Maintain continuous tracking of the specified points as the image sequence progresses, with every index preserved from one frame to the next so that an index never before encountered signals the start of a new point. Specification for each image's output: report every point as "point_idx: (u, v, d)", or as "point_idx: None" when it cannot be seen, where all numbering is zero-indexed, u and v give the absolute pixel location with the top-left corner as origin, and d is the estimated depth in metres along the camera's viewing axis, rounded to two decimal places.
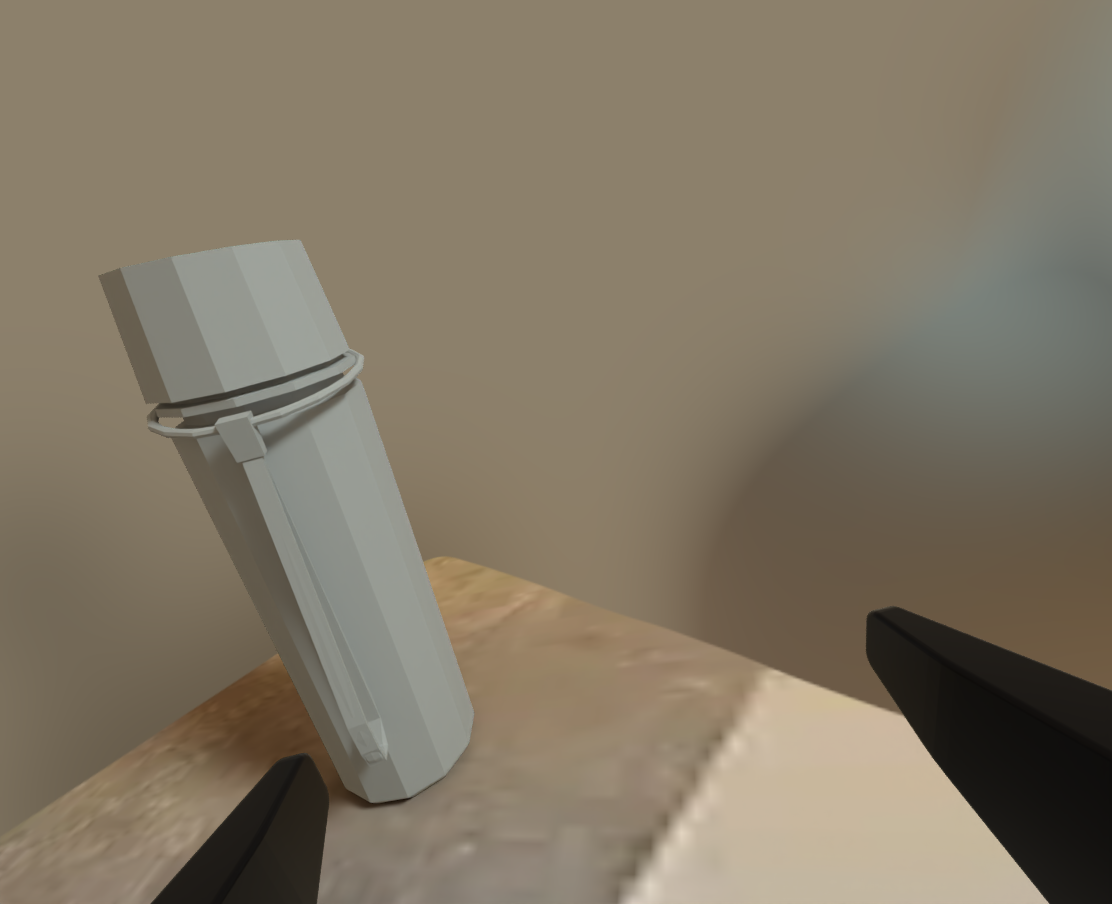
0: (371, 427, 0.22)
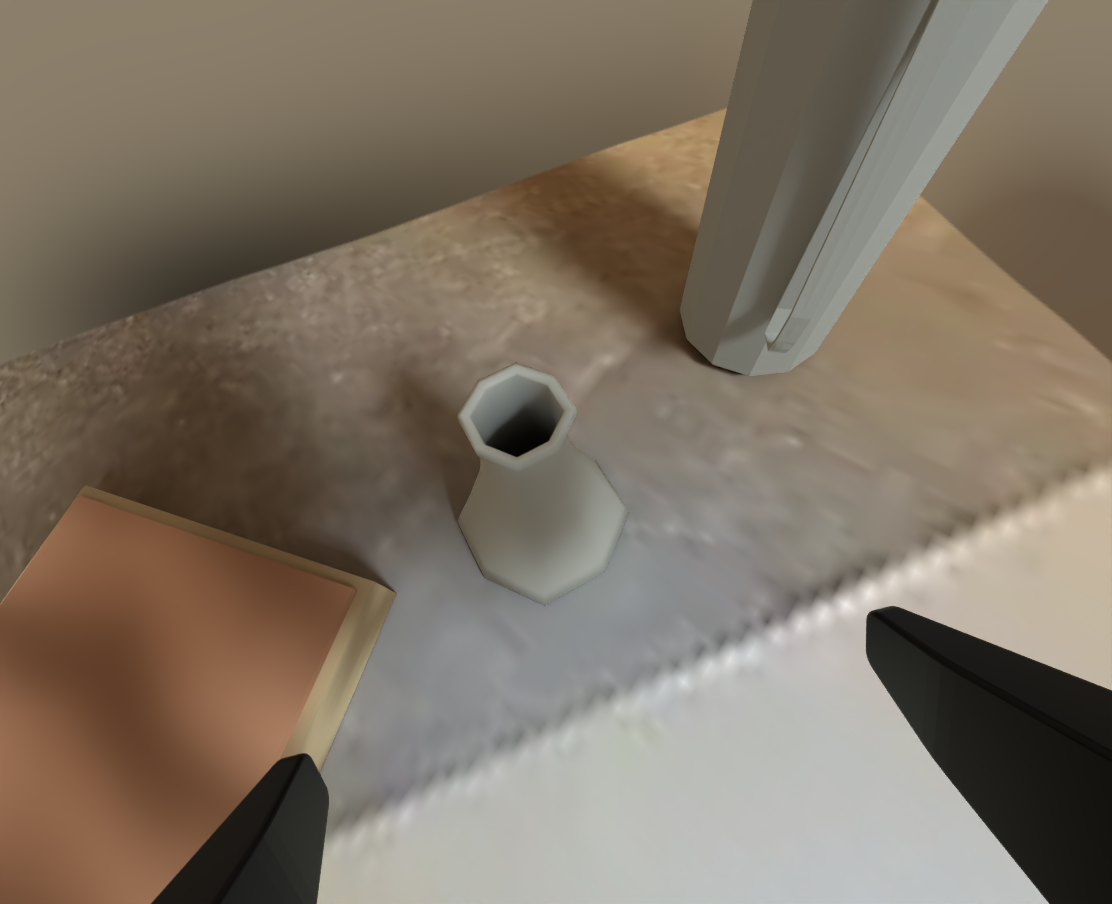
0: None
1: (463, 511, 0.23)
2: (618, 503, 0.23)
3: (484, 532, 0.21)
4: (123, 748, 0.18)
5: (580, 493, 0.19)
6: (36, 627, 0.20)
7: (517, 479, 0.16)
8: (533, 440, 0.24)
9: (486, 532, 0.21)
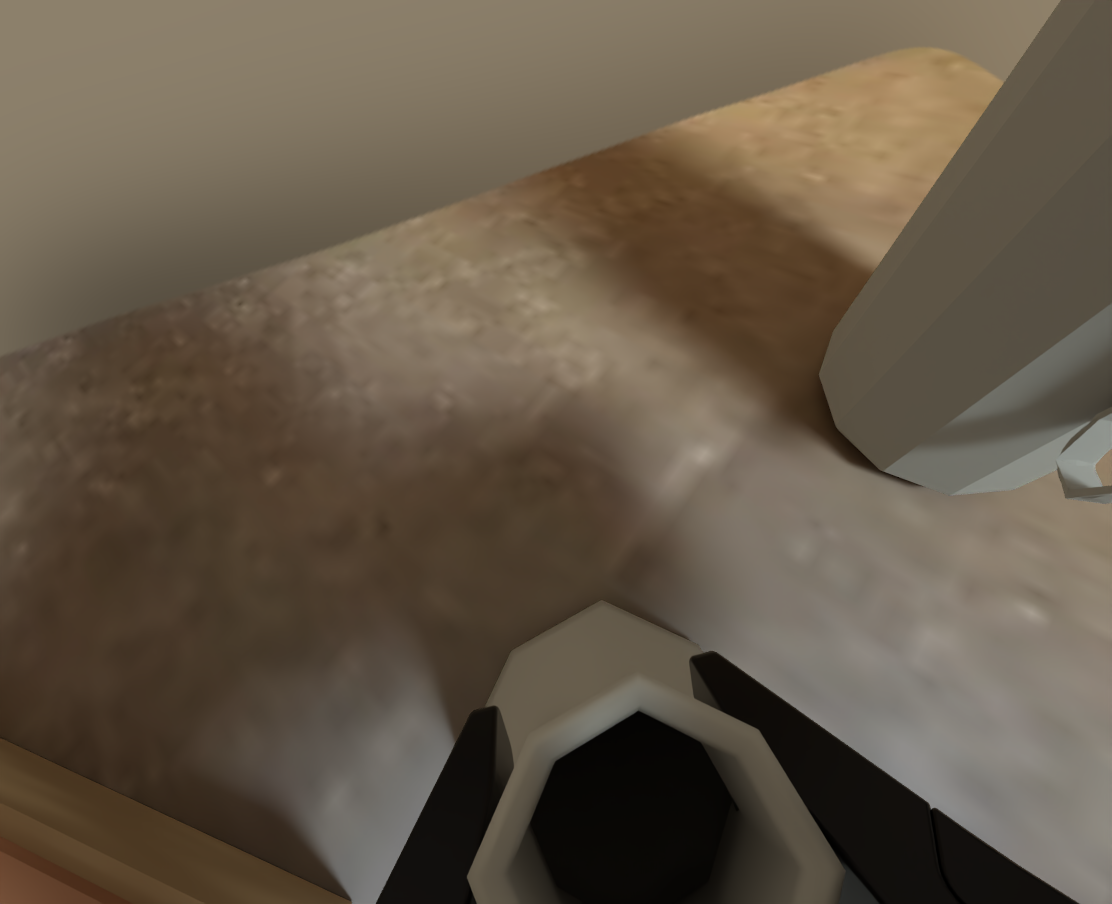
0: None
1: None
2: None
3: None
4: None
5: None
6: None
7: None
8: (595, 619, 0.14)
9: None
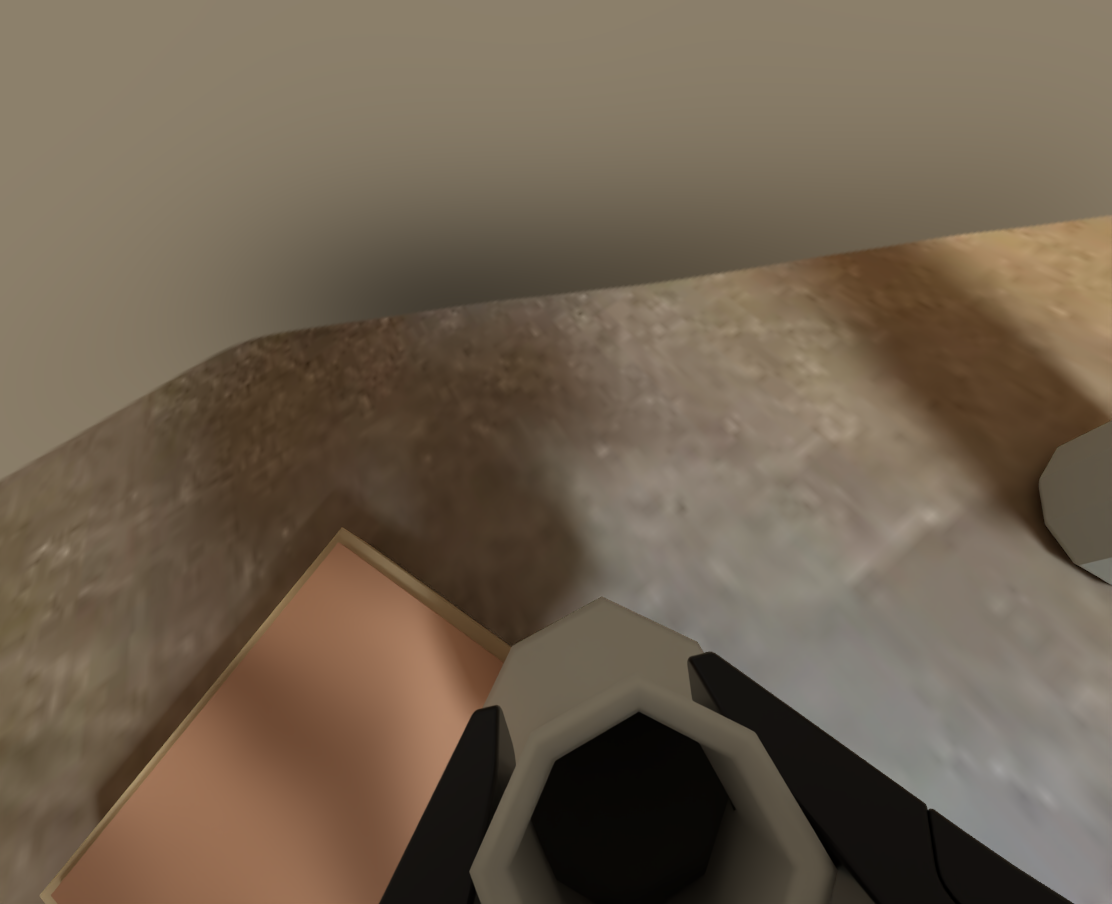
0: None
1: None
2: None
3: None
4: (364, 881, 0.16)
5: None
6: (283, 693, 0.18)
7: None
8: (595, 616, 0.14)
9: None
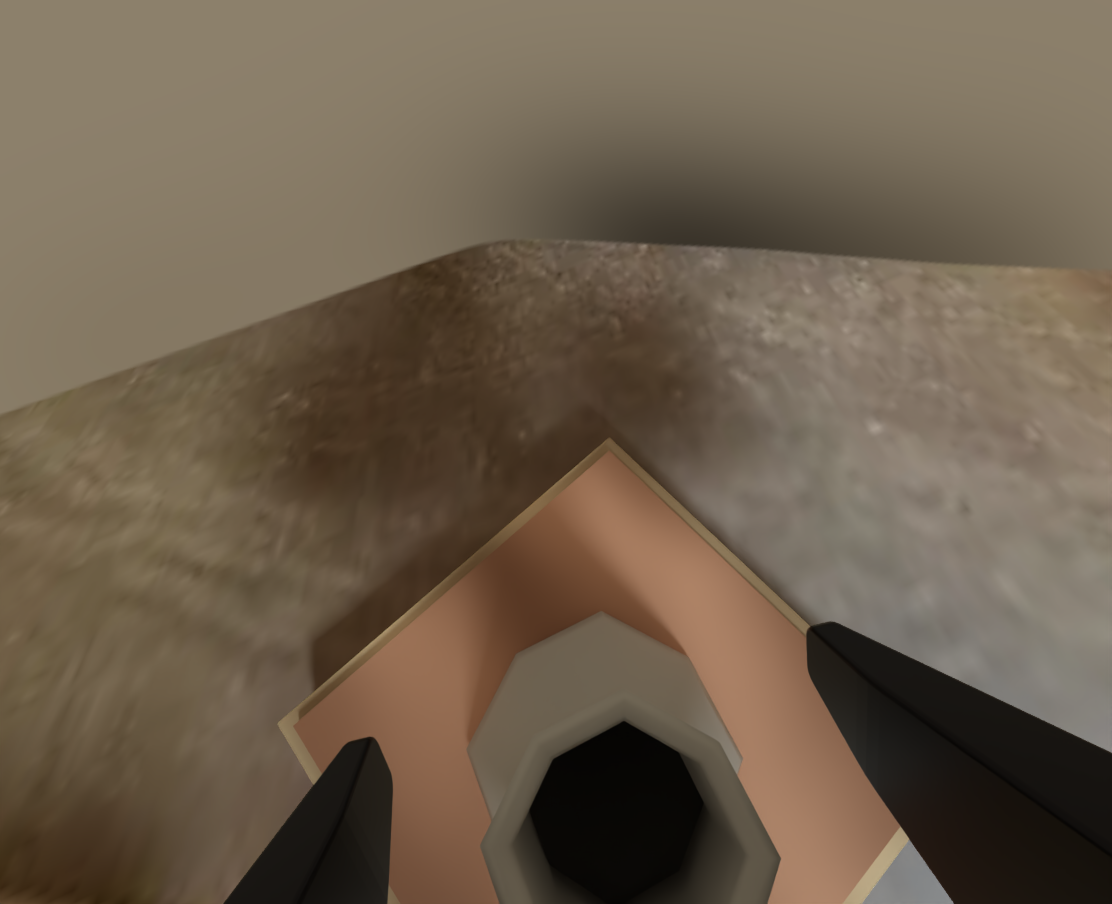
0: None
1: (477, 760, 0.14)
2: (736, 765, 0.13)
3: None
4: None
5: None
6: (541, 589, 0.17)
7: None
8: None
9: None
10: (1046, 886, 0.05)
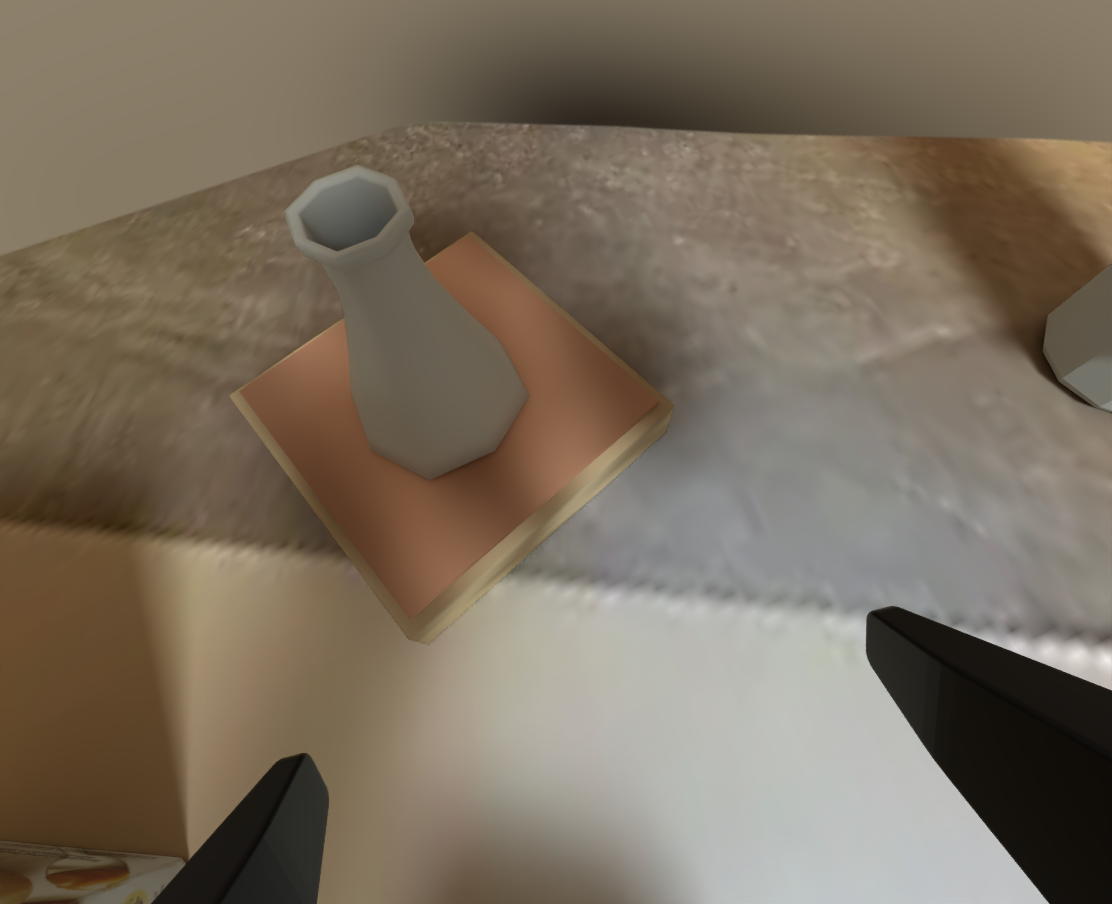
0: None
1: (350, 378, 0.21)
2: (512, 377, 0.21)
3: (360, 391, 0.20)
4: None
5: (451, 342, 0.18)
6: None
7: (357, 295, 0.15)
8: None
9: (360, 389, 0.20)
10: None
